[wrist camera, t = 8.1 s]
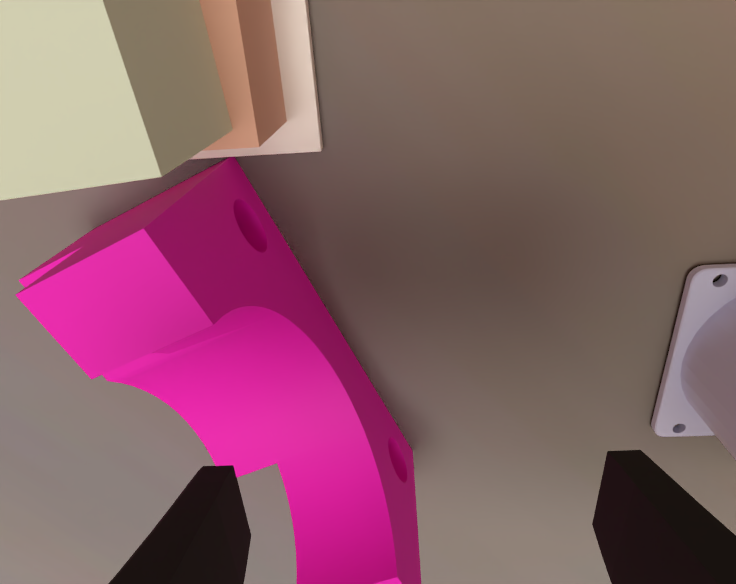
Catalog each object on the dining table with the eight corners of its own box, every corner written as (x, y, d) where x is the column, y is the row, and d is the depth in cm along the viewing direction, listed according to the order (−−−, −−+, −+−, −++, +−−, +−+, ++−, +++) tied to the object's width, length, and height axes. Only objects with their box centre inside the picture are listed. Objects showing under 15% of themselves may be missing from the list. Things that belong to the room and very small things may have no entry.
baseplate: (291, -158, 14) (287, -166, 13) (323, 147, 17) (321, 151, 17) (3, -131, 14) (-11, -137, 13) (94, 161, 18) (85, 165, 17)
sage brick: (232, 129, 13) (161, 177, 9) (62, 155, 13) (-81, 212, 9) (175, -94, 11) (46, -169, 7) (-25, -55, 11) (-261, -102, 7)
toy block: (95, 227, 19) (-61, 334, 12) (234, 153, 18) (143, 228, 11) (296, 487, 25) (263, 653, 18) (412, 447, 24) (423, 612, 17)
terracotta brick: (255, -114, 14) (209, -164, 10) (286, 121, 16) (259, 147, 13) (38, -94, 14) (-81, -136, 10) (104, 133, 17) (28, 161, 13)
